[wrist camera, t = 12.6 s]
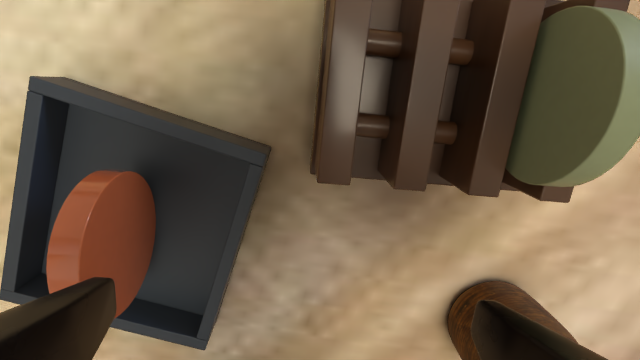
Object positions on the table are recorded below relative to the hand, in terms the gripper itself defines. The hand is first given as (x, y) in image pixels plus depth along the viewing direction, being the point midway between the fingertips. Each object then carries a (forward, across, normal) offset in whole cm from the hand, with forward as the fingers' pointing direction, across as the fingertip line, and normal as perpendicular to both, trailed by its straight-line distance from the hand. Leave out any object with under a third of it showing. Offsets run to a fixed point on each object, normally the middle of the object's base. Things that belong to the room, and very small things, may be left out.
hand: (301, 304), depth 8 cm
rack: (+12, -7, -6) cm, 15 cm away
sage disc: (+7, -10, -6) cm, 13 cm away
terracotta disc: (+8, +9, +3) cm, 12 cm away
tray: (+12, +9, +3) cm, 15 cm away
